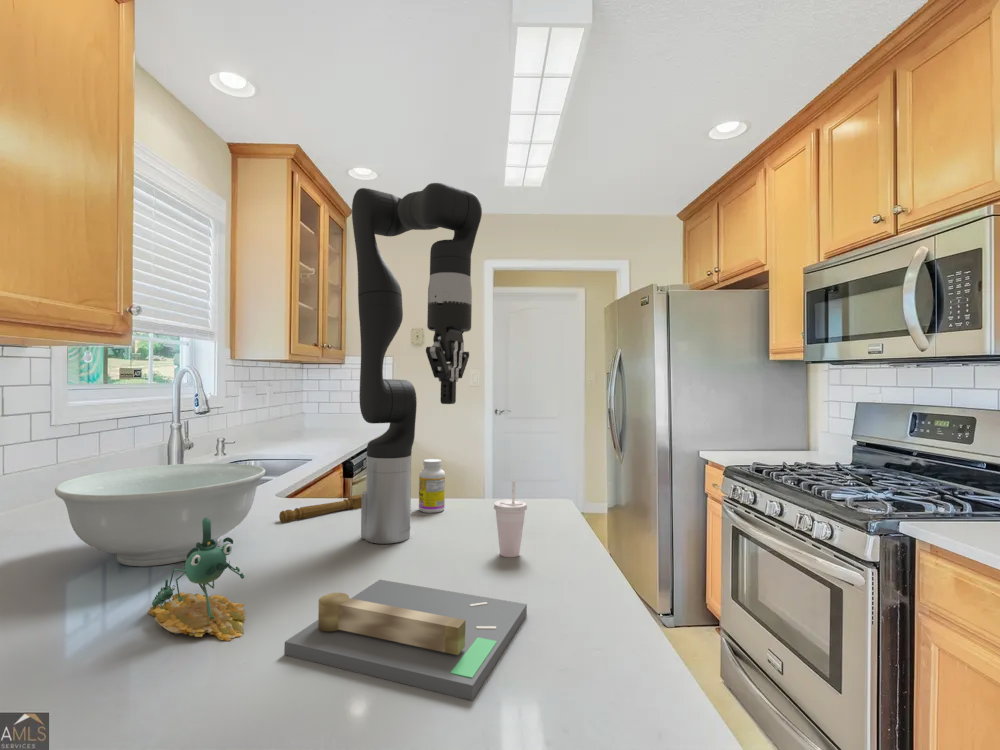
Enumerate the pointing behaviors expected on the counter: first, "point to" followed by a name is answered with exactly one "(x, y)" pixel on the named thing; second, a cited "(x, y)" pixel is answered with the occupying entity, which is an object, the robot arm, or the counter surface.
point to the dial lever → (391, 623)
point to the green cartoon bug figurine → (196, 609)
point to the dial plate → (412, 664)
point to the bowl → (158, 508)
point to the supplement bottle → (432, 487)
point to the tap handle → (321, 509)
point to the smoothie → (510, 524)
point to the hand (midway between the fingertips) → (448, 403)
